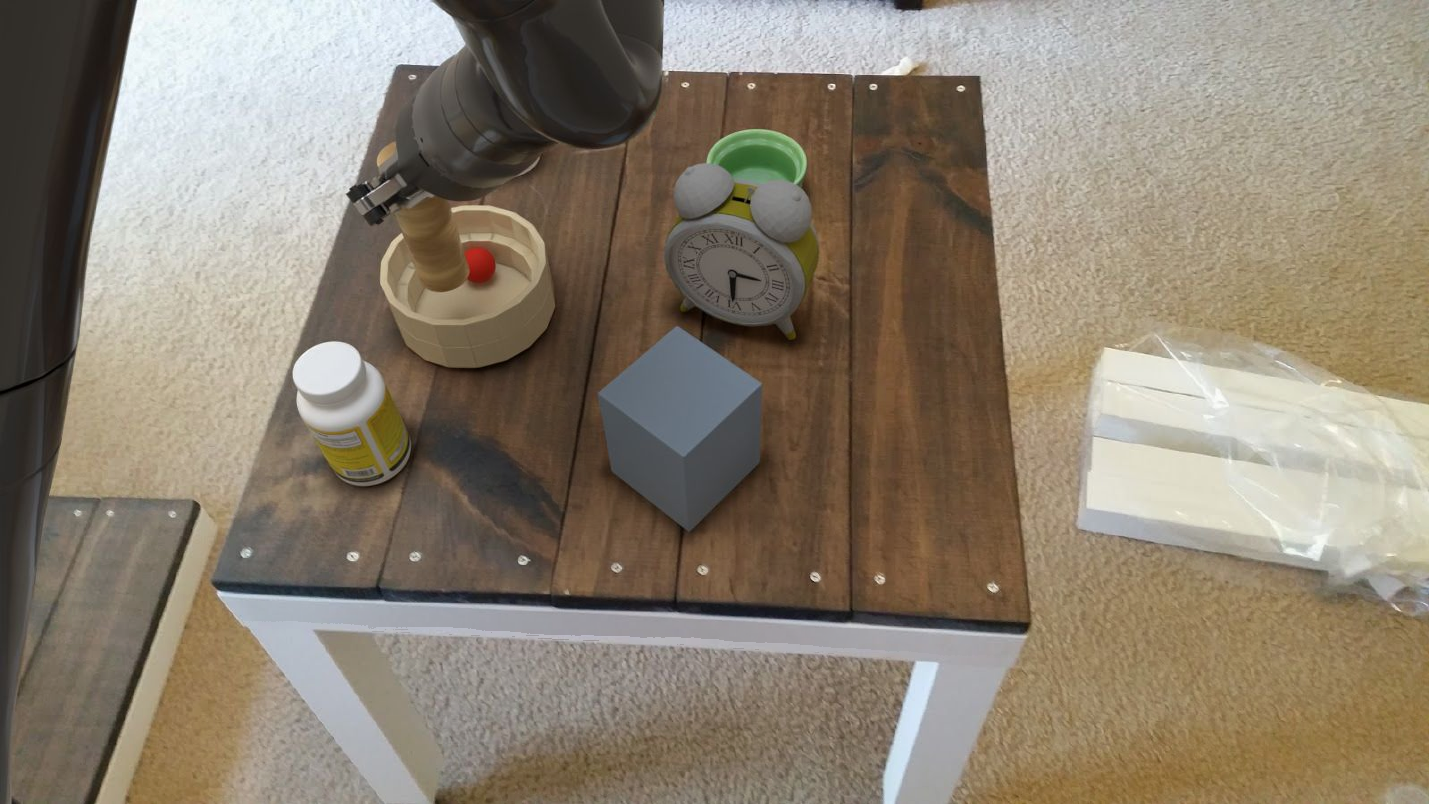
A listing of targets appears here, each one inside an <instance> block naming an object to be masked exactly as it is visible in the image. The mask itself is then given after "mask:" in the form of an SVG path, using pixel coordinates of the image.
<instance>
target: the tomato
mask: <svg viewBox="0 0 1429 804" xmlns="http://www.w3.org/2000/svg"><path fill="white" fill-rule="evenodd" d="M465 255H466V259H467V262H468V265H469V275H468V278H467V279H468V280H469V281H471V282H475V283H481V282H485V281H487V280H488V279H490V278H491V277H492V275H493V274H494V272H495V268H496V264H495V259H494V257H493V256H492V254H491V253H490V252H489V251H487V250H486V249H483V248H479V247H475V248H471V249H469V250H467V251H466V252H465Z"/></svg>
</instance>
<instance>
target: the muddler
mask: <svg viewBox="0 0 1429 804" xmlns="http://www.w3.org/2000/svg"><path fill="white" fill-rule="evenodd" d="M395 148H396V140H395V141H392V142H391V143H389V144H387V145H386V146H384V147H383V148H382V149H381V150H380V151H379V153H378V155H377V156H376V166H377V169H378V168H379V166H380V165H381V164H382V163H384V162H385V161H386V160H387V159H388V158H390V157H391V156H392V155H393V154H394V153H395ZM421 191H423V190H421ZM401 208H402V209H401V210H400V211H399V212H397V213H396V212H394V216H395V217H396V220H397V223H398V225H399V228H400V231H401V233H402V234H403V237H404V240H405V242H406V245H407V248H408V251H409V253H410V256H411V259H412V262H413V264H414V267H415V270H416V273H417V275H418V278H419V281H420V283H421V284H422V286H423V287H425V288H426V289H428V290H430V291H433V292H447V291H451V290H454V289H456V288H458V287H459V286H461V285H462V284H463V283H464V282H465V281H466V279H467V278H468V275H469V265H468V262H467V259H466V255H465V252H464V249H463V246H462V242H461V239H460V236H459V232H458V229H457V226H456V223H455V219H454V216H453V213H452V210H451V208H452V206H451V203H450V200H446V199H443V198H440V197H437V196H435V197H433V198H429V197H427V198H426V199H425V200H423V201H422V202H420V203H419V204H417V205H416V206H414V207H413V208H411V209H408V208H406V207H405V206H402V207H401Z"/></svg>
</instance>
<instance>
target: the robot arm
mask: <svg viewBox="0 0 1429 804" xmlns="http://www.w3.org/2000/svg"><path fill="white" fill-rule="evenodd" d="M430 1H431V2H432V3H433V4H434V5H435V6H436V7H438V8H440V10H442V11H443V12H444V13H446V14H447V15H449V16H450V17H451V19H452V20H453V22H454V24H455V27H456V28H457V31H458V33H459V34H460V36H461V38H462V40H463V42H464V43H465V44H464V45H463V46H462V47H461V48H460V49H459V50H458V51H457V52H456V53H455V54H452V56H450V57H448V58H446V59H445V60H444V61H443V62H441V64H440V65H438V67H436V68H435V69H434V70H433V72H431V74H430V75H429V76H428V77H427V78H426V79H425V80H424V81H423V83H422V84H421V85H420V86H418V88H417V89H416V90H415V91H414V92H413V93H412V95H411V96H410V97H409V98H408V99H407V100H406V102H405V103H404V104H403V106H402V107H401V109H400V111H399V114H398V116H397V119H396V123H395V131H394V133H395V134H394V138H395V141H396V148H395V153H394V154H393V155H392V156H391V157H390V158H388V159H387V160H386V161H385V162H384V163H382V164H381V165H380V166H379V168H378V167H377V169H378V172H379V176H374V177H373V178H372V179H371V182H370V181H369V180H365V182H363V183H359V184H358V185H356V184H354V185H351V187H349V191H347V192H346V193H345V196H347V198H348V199H349V200H350V202H351V203H352V204H353V206H354V207H355V208H356V210H357V211H358V212H359V214H360V215H361V216H362V218H363V219H364V220H365V221H366V223H367V224H368V225H369V226H370V227H374V226H376V225H377V226H379V225H380V224H383V223H384V222H385V221H384V219H385V218H387V217H388V216H390V215H392V214H393V213H395V212H396V213H397V212H399V211H400V210H401V209H402V208H401V207H402V206H405V207H406V208H408V209H411V208H413V207H414V206H416V205H417V204H419V203H420V202H422V201H423V200H425V199H426V198H427V197H429V198H433V197H435V196H437V197H440V198H443V199H446V200H449V202H471V201H476V200H479V199H481V198H484V197H487V196H488V195H489V194H491V193H493V192H494V191H496V190H498V189H499V188H500V187H502V186H504V185H505V184H507V183H508V182H510V181H511V180H513V179H515V178H517V177H518V176H517V175H519V174H520V173H522V172H523V171H525V170H526V169H527V168H529V167H530V166H531V165H532V164H533V163H534V162H535V161H536V160H537V159H538V158H539V157H540V158H541V155H543V154H544V153H546V152H547V151H549V150H551V149H552V148H553V147H555V146H556V145H558V144H561V145H564V146H568V147H571V148H575V149H581V150H602V149H603V150H604V149H609V148H614V147H617V146H620V145H623V144H625V143H627V142H629V141H631V140H632V139H634V138H635V137H636V136H638V135H639V134H641V133H642V132H643V131H644V130H645V128H646V127H647V126H648V125H649V124H650V123H651V121H652V120H653V118H654V116H655V115H656V113H657V110H658V107H659V104H660V101H661V95H662V91H663V90H662V89H663V70H664V69H663V67H664V66H663V65H664V62H663V59H664V57H663V55H664V54H663V52H664V32H665V31H664V26H665V0H430ZM137 4H138V0H0V804H24V803H23V802H22V801H20V800H19V799H18V798H16V797H15V796H14V795H12V776H13V775H12V773H13V772H12V771H13V770H12V769H13V768H12V767H13V738H14V727H15V726H14V725H15V712H16V705H17V700H18V693H19V687H20V679H21V674H22V669H23V663H24V658H25V652H26V645H27V639H28V633H29V625H30V619H31V613H32V607H33V600H34V594H35V586H36V578H37V570H38V564H39V555H40V549H41V541H42V537H43V536H42V534H43V528H44V521H45V516H46V511H47V508H48V503H49V497H50V493H51V489H52V486H53V485H52V484H53V481H54V476H55V473H56V469H57V464H58V460H59V455H60V450H61V445H62V442H63V441H62V440H63V435H64V434H63V433H64V427H65V421H66V416H67V410H68V405H69V398H70V392H71V386H72V381H73V375H74V369H75V363H76V357H77V351H78V345H79V339H80V334H81V333H80V332H81V326H82V325H81V324H82V317H83V316H82V315H83V308H84V307H83V306H84V298H85V288H86V279H87V277H86V276H87V270H88V262H89V254H90V249H91V241H92V240H91V239H92V234H93V229H94V224H95V219H96V218H95V217H96V213H97V208H98V203H99V198H100V193H101V188H102V183H103V178H104V173H105V167H106V163H107V159H108V153H109V147H110V143H111V139H112V138H111V137H112V134H113V128H114V123H115V118H116V114H117V108H118V103H119V98H120V94H121V89H122V83H123V78H124V71H125V68H126V67H125V66H126V61H127V54H128V49H129V43H130V39H131V34H132V29H133V24H134V18H135V14H136V10H137ZM516 176H517V177H516ZM421 190H423V191H421Z"/></svg>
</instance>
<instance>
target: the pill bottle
mask: <svg viewBox="0 0 1429 804" xmlns="http://www.w3.org/2000/svg"><path fill="white" fill-rule="evenodd" d="M292 381H293V383H294V385H295V387H296V389H297V392H296V399H295V400H296V405H297V406H296V407H297V410H298V413H299V416H300V418H301V420H302V422H303V423H304V424H305V425H306V428H307V429H308V431H309V433H310V434H311V436H312V438H313V440H314V441H315V443H316V444H317V446H318V448H319V450H320V451H321V453H322V454H323V457H324V458H325V459H326V461H327V463H328V464H329V466H330V468H331V469H332V471H333V473H334V474H335V475H336V476H337V477H338V478H339V479H340V480H342V481H343V482H345V483H346V484H349V485H351V486H357V487H369V486H371V487H372V486H376V485H379V484H382V483H385V482H386V481H389V480H390V479H392V478H393V477H395V476H396V475H397V474H398V473H399V472H400V471H402V470H403V469H404V467H405V466H406V465H407V463H408V460H409V458H410V455H411V451H412V440H411V436H410V434H409V431H408V429H407V426H406V424H405V423H404V420H403V419H402V416H401V414H400V412H399V410H398V407H397V405H396V404H395V401H394V399H393V397H392V395H391V393H390V391H389V388H388V386H387V384H386V382H385V380H384V378H383V376H382V374H381V372H380V371H379V370H378V369H377V368H376V367H375V366H374V365H372V364H371V363H369V362H367V361H365V360H363V358H362V356H361V353H360V352H359V351H358V350H357V349H356V348H355V347H354V346H352V345H351V344H349V343H347V342H342V341H326V342H322V343H318V344H316V345H314V346H312V347H310V348H309V349H307V350H306V351H305V352H303V354H301V355H300V356H299V357H298V359H297V360H296V361H295V363H294V365H293V369H292Z"/></svg>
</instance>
